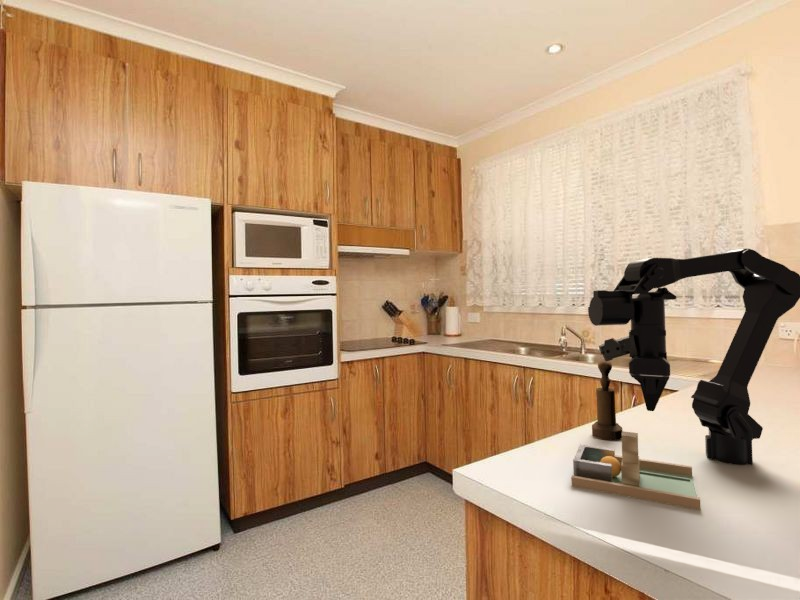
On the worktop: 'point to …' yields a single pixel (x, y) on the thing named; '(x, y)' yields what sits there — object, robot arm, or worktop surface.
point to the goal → (593, 463)
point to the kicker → (630, 459)
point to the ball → (615, 465)
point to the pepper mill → (606, 407)
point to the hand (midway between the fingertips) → (650, 404)
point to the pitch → (651, 484)
